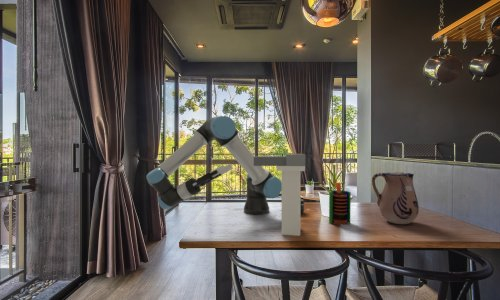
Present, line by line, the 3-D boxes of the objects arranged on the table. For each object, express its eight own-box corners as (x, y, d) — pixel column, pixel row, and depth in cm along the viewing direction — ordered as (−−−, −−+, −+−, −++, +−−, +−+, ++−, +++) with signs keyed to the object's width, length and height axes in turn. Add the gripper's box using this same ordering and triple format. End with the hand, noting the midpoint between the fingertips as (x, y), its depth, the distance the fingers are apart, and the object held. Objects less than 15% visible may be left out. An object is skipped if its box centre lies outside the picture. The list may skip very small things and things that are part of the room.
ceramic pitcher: (424, 228, 135) (424, 174, 135) (376, 225, 139) (376, 174, 139) (411, 219, 152) (411, 171, 152) (369, 217, 156) (369, 171, 156)
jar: (286, 210, 172) (286, 198, 172) (303, 211, 172) (303, 198, 172) (287, 214, 162) (287, 201, 162) (305, 214, 162) (305, 201, 162)
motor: (334, 225, 139) (334, 184, 139) (325, 221, 148) (325, 182, 147) (353, 224, 142) (353, 183, 142) (342, 219, 150) (342, 181, 150)
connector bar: (254, 165, 129) (254, 154, 129) (303, 165, 127) (303, 154, 127) (253, 165, 123) (253, 154, 123) (305, 166, 121) (305, 154, 121)
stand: (279, 225, 139) (279, 163, 139) (304, 226, 137) (304, 163, 137) (276, 236, 122) (276, 165, 122) (305, 237, 120) (305, 165, 120)
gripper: (201, 192, 145) (237, 172, 142) (182, 200, 121) (225, 176, 118) (195, 178, 146) (230, 158, 143) (174, 184, 121) (216, 160, 118)
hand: (228, 166), depth 130 cm, fingers open, 13 cm apart
